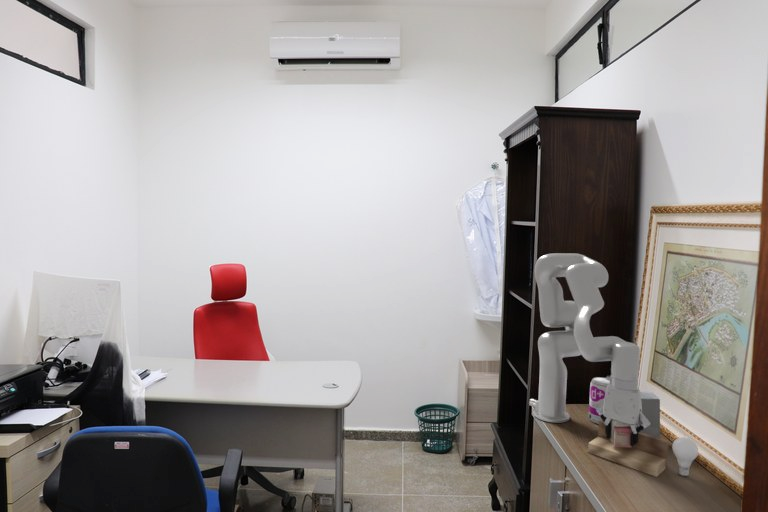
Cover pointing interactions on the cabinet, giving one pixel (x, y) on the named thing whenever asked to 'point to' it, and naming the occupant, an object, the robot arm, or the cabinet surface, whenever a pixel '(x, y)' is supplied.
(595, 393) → the supplement can
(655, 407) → the skincare box
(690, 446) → the lightbulb
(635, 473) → the cabinet surface
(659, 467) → the board
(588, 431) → the cabinet surface
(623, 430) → the small box
